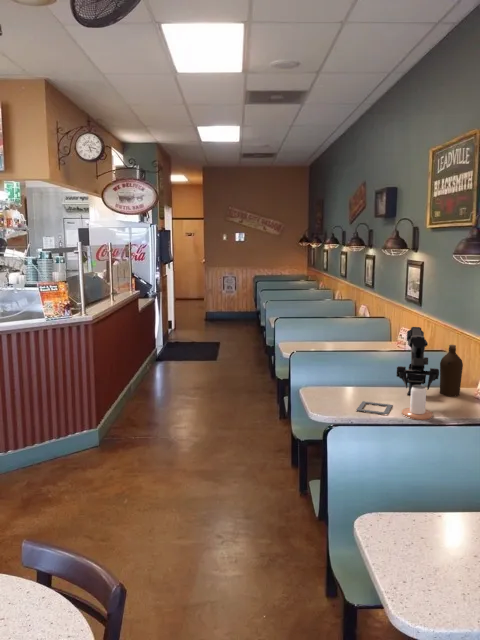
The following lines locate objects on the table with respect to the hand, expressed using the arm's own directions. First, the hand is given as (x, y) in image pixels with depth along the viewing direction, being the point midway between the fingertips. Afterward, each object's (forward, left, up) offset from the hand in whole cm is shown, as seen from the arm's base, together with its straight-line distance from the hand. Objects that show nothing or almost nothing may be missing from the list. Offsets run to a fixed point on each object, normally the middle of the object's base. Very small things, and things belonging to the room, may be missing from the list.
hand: (417, 388), depth 248 cm
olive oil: (-30, +12, -10) cm, 34 cm away
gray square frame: (+8, -18, -10) cm, 21 cm away
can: (+9, +1, -9) cm, 12 cm away
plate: (+9, +1, -10) cm, 13 cm away
